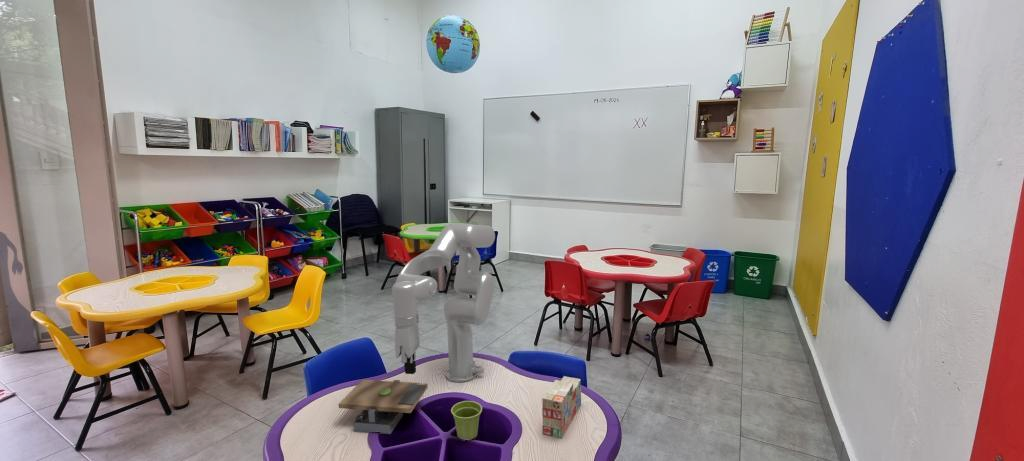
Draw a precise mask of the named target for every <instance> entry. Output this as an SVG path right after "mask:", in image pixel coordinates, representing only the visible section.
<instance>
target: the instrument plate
mask: <svg viewBox="0 0 1024 461" xmlns="http://www.w3.org/2000/svg"><path fill="white" fill-rule="evenodd" d="M428 385H429V384H428V383H426V382H425V383H424V382H411V381H410V382H409V381H400V382H394V380H392V381H388V380H375V379H374V380H372V379H361V380H360V381H359V382H358V384H357V385H355V386H354V388H353V389H352V390H351V391H350V392H348V394H346V395H345V397H344V398H342V400H341V401H340V402H339V403H338V409H344V410H345V409H347V410H358V411H359V410H362V411H364V410H369V409H376V413H377V412H378V411H387V412H402V413H405V414H412V412H413V410H414V409H415V407H416V406H417V404H418V403H419V401H420V400H421V398H422V397H423V396H424V395H425V392H426V391H427V390H428V388H429V387H428Z"/></svg>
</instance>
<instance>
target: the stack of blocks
mask: <svg viewBox="0 0 1024 461" xmlns="http://www.w3.org/2000/svg"><path fill="white" fill-rule="evenodd" d="M581 382H582V380H581V379H580V378H576V377H569V376H565V375H563V377H562V378H561V380H558V379H555V380H554V381H553V382H552V384H551V386H550V387H549V389H548V390H547V391H546V393H545V394H544V395H543V397H542V399H541V401H542V407H541V408H542V410H541V413H542V435H545V436H549V437H553V438H557V439H563V437H564V435H565V434H566V432H567V430H568V428H569V427H570V425H571V424H572V421H573V418H574V417H575V416H576V414H577V412H578V410H579V408H580V406H581V405H582V387H581V386H582V383H581Z"/></svg>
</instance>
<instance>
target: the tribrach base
mask: <svg viewBox="0 0 1024 461" xmlns="http://www.w3.org/2000/svg"><path fill="white" fill-rule="evenodd" d="M393 381H394V382H401V381H400V380H398V379H394V380H393ZM403 416H404V415H403V413H402V412H387V411H378V412H377V413H376V409H369V410H362V412H361V413H358V414H357V415H356V419H355V420H354V421H353V432H356V433H367V434H368V433H370V434H371V432H375V431H379V432H380V433H379V434H384V435H385V434H386V435H391V434H392V433H393V431H394V429H395V428H396V426H398V423H399V422H400V421H401V419H402V418H403Z"/></svg>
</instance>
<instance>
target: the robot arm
mask: <svg viewBox="0 0 1024 461" xmlns="http://www.w3.org/2000/svg"><path fill="white" fill-rule="evenodd" d="M495 239H496V233H495V230H494V228H493V227H492V226H490V225H486V224H485V225H484V224H473V223H472V224H471V223H457V222H455V223H454V222H452V223H448V224H447V225H445V226H444V227H443V229H441V232H439V234H438V235H437V237H436V239H435V240H434V242H433V243H432V245H431V246H430V248H428V250H426V251H424V252H421V253H420V254H419V255H416V256H415V257H413V258H412V259H411V260H409V261H408V262H407V263H406V264H405V265H404V266H403V268H402V269H401V271H400V272H399V274H398V276H397V278H396V280H395V281H394V282H395V283H394V284H393V285H392V287H391V292H392V293H391V294H392V306H393V318H394V327H395V329H394V331H395V332H394V351H395V352H394V354H395V358H399V357H400V358H401V359H400V363H402V364H404V366H403V367H404V374H406V375H415V373H416V372H417V365H416V351H417V350H418V348H419V347H420V343H421V342H420V341H421V340H420V332H419V324H420V319H419V306H418V305H419V304H418V302H420V301H425V300H429V299H430V298H432V297H434V295H435V294H436V293H437V290H438V282H437V281H436V279H435V278H434V277H431V276H427V275H422V274H424V273H425V272H429V271H432V270H435V269H440V268H442V267H445V266H447V265H449V264H450V262H451V260H452V258H454V256H455V254H456V253H457V251H458V254H459V259H458V265H457V268H456V273H455V277H454V282H453V288H454V290H455V291H456V292H457V293H459V294H462V295H463V294H464V295H468V296H469V295H470V296H475V298H470V297H467V296H466V297H465V296H451V297H450V298H448V299H447V300H446V301H445V302H444V304H443V314H444V318H445V321H446V322H445V324H446V330H447V351H448V355H447V356H448V368H447V369H446V371H445V373H444V375H445V378H446V379H447V380H448V381H451V382H457V383H463V382H469V381H472V380H473V379H475V378H476V377H477V376H478V373H479V374H484V373H485V367H483V365H478V364H476V361H474V349H473V347H474V346H473V345H474V344H473V330H472V327H471V325H475V326H476V325H477V326H481V325H484V324H485V323H486V321H487V319H488V317H489V313H490V309H491V304H492V300H493V294H494V290H495V280H494V277H493V275H492V274H491V273H490V272H487V271H481V270H480V265H481V262H482V261H481V260H482V259H481V255H480V254H479V251H478V250H477V248H480V249H481V248H490V247H491V246H493V244H494V242H495Z"/></svg>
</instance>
